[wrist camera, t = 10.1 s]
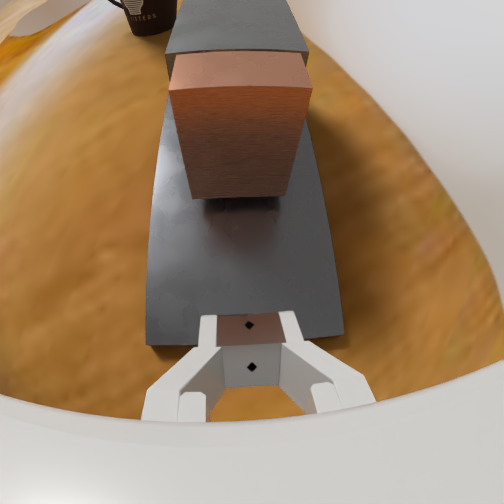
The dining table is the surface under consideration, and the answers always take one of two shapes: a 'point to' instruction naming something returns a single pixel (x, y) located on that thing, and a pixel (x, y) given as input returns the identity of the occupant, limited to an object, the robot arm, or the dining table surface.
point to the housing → (237, 208)
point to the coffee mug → (149, 15)
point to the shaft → (239, 120)
